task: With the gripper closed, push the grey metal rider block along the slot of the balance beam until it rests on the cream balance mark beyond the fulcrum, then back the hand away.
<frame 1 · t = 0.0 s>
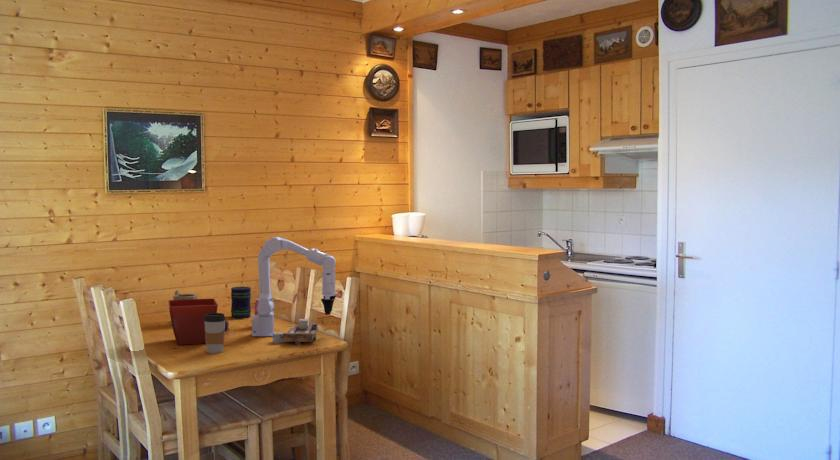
hand: (328, 313, 315), 10 cm above the table, tool pointing down, fingers open, 7 cm apart
plant pot: (192, 342, 298), on the table
coffee cup: (214, 352, 280), on the table
soda can: (262, 326, 334), on the table
storage jar: (240, 317, 357), on the table
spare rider: (278, 342, 300), on the table
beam: (300, 339, 306), on the table
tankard: (183, 323, 339), on the table
rider: (303, 324, 314), point 5 cm above the table, slide at 0.0 cm
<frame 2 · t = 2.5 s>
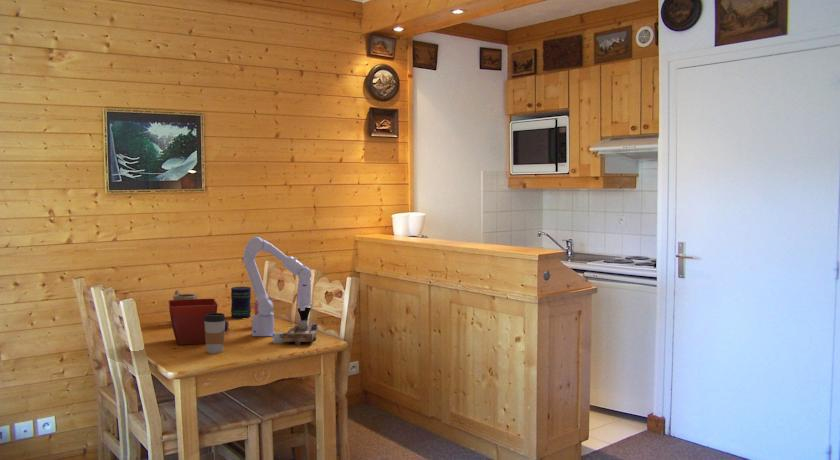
hand: (304, 324, 317), 5 cm above the table, tool pointing down, fingers closed
rider: (303, 324, 313), point 5 cm above the table, slide at 0.6 cm, touching gripper
everything else where it was.
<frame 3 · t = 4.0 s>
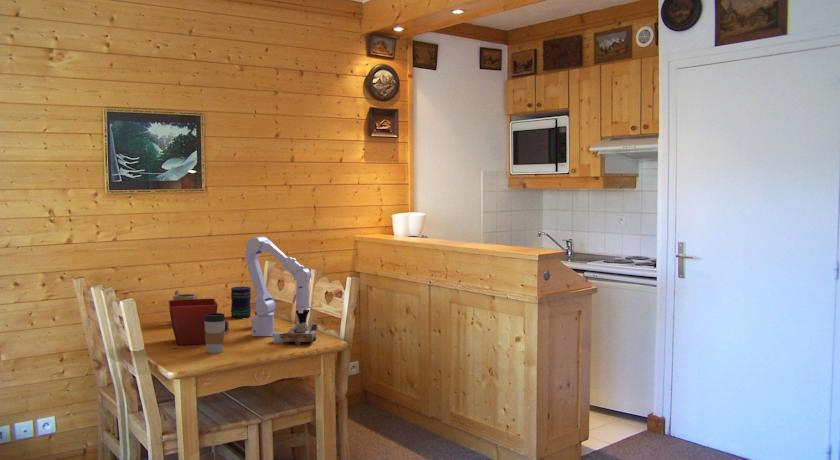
hand: (302, 326, 310), 5 cm above the table, tool pointing down, fingers closed
rider: (301, 327, 307), point 5 cm above the table, slide at 6.9 cm, touching gripper
everything else where it was.
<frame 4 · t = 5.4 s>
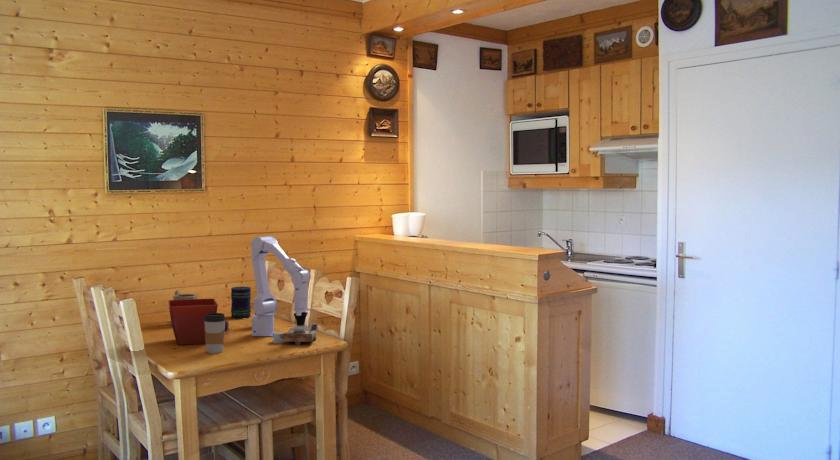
hand: (300, 329, 304), 5 cm above the table, tool pointing down, fingers closed
rider: (299, 329, 301), point 5 cm above the table, slide at 13.0 cm, touching gripper
everything else where it was.
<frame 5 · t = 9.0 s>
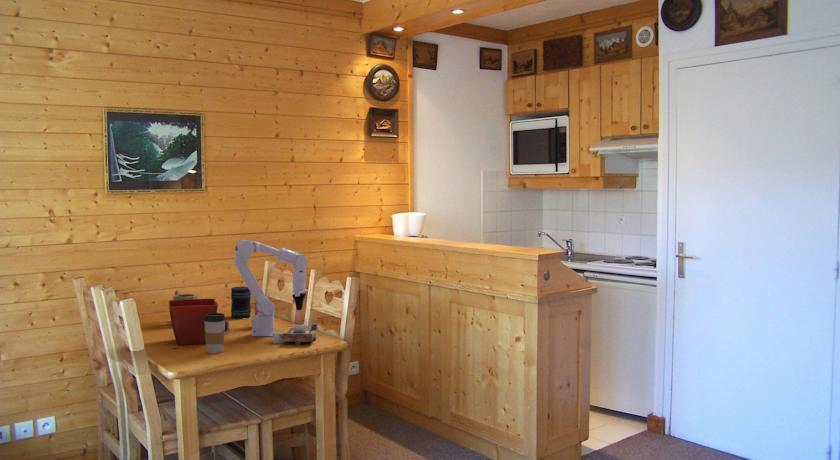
hand: (299, 309, 320), 10 cm above the table, tool pointing down, fingers closed
rider: (299, 330, 301), point 5 cm above the table, slide at 13.1 cm
everything else where it was.
at the end: rider slide at 13.1 cm; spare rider moved 0.1 cm from its start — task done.
